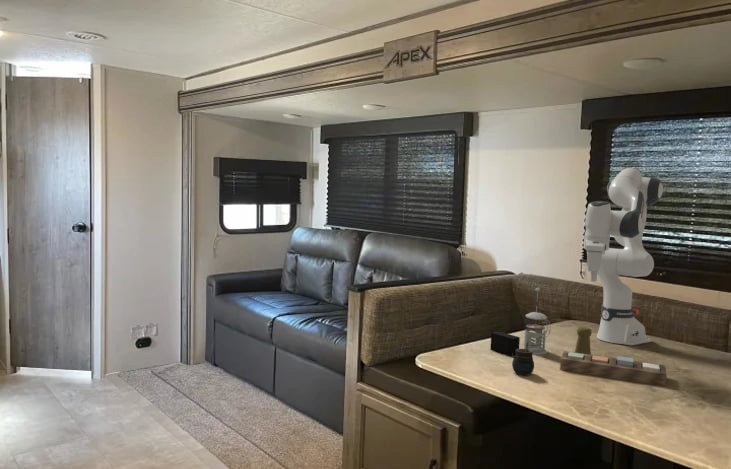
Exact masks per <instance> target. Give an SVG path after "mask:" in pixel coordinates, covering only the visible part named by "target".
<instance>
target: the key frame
mask: <svg viewBox="0 0 731 469" xmlns="http://www.w3.org/2000/svg"><path fill="white" fill-rule="evenodd" d="M569 352H570V351H567V350H563V352H562V354H561V357H560V364H559V370H560V371H565V372H573V373H578V374H586V375H591V376H597V377H604V378H611V379H617V380H618V379H619V380H623V381H629V382H630V381H631V382H635V383H636V382H637V383H642V384H649V385H655V386H662V387H666V386H667V376H668V375H667V374H668V373H667V369H666V365H664V364H658V363H655V364H656V365H659V368H660V371H655V370H648V369H642V365H643V363H646V361H645V362H643V361H637V360H633V367H628V366H621V365H617V357H609V356H607V357H608V363H601V362H594V361H592V357H593V355H594V356H597V355H595V354H591V355H589V354H584V358H583V360H581V359H574V358H568V353H569ZM572 352H573V353H575V351H572ZM580 354H582V353H580ZM600 356H601V355H600ZM601 357H604V356H603V355H602V356H601ZM648 363H649V364H653V363H650V362H648Z"/></svg>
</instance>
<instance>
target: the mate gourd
mask: <svg viewBox="0 0 731 469" xmlns="http://www.w3.org/2000/svg"><path fill="white" fill-rule="evenodd" d="M527 347H528V343H526V349H522V348H519V349H516V352H515V353H516V354H515V356H513V359H512V363H511V365H512V369H513V371H514V373H515V374H517V375H520V376H530V375H531V374H532V373H533V372H534V369H535V362H534V358H533V355H534V354H533V352H532V351H531V350H528V349H527Z"/></svg>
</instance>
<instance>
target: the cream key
mask: <svg viewBox="0 0 731 469" xmlns="http://www.w3.org/2000/svg"><path fill="white" fill-rule="evenodd" d="M649 363H650V362H645V363H643V365H642V369H648V370H655V371H660V368H659V365H660V364H659V365H656V364H657V363H652V364H649Z"/></svg>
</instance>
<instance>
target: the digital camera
mask: <svg viewBox="0 0 731 469" xmlns="http://www.w3.org/2000/svg"><path fill="white" fill-rule="evenodd" d="M520 339H521V337H520V336H516V335H514V334H513V335H512V334H510V333H508V332H502V331H500V330H499V331H495V332H491V334H490V351H492V352H496V353H499V354H502V355H506V356H508V357H515V354H516V353H515V352H516V349H520V342H521V341H520Z"/></svg>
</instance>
